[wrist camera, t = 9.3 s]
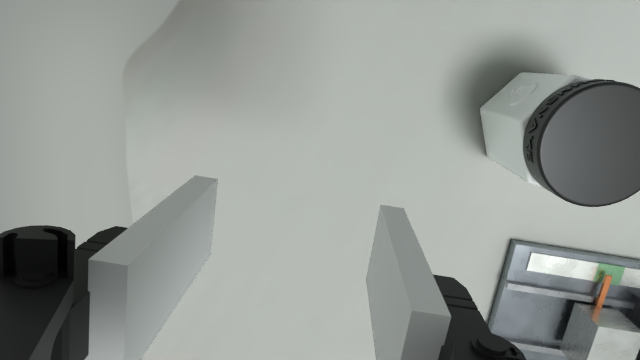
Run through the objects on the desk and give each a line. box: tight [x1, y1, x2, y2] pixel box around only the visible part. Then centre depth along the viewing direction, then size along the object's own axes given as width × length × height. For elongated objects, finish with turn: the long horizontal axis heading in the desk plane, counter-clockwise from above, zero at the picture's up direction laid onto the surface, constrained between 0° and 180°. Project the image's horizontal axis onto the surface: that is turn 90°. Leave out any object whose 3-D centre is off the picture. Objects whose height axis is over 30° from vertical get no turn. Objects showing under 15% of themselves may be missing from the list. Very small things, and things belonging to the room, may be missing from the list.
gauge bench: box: [487, 240, 640, 360], centre depth 41 cm, size 14×14×7 cm
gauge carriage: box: [560, 274, 640, 360], centre depth 41 cm, size 8×4×4 cm, turn 171°
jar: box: [480, 72, 640, 207], centre depth 34 cm, size 9×8×12 cm
